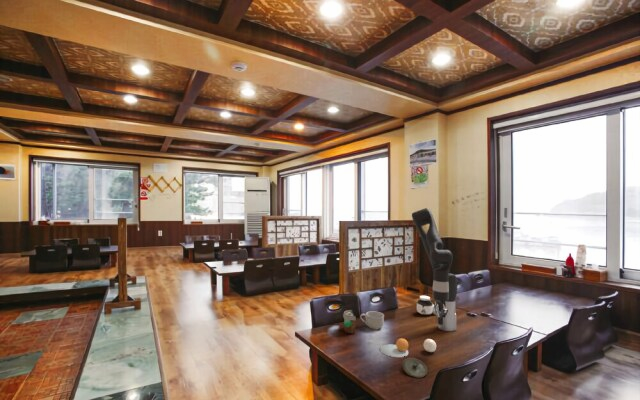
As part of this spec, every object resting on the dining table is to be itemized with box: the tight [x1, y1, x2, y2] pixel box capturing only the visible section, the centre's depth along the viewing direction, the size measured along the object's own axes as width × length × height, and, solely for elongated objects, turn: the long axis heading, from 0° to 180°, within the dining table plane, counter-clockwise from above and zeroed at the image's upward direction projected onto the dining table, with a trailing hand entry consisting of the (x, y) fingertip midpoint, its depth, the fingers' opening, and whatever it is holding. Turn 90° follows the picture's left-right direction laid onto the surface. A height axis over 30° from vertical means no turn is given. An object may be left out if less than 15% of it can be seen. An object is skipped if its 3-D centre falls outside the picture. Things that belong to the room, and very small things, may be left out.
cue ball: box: [423, 338, 437, 353], centre depth 157 cm, size 6×6×6 cm
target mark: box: [379, 343, 409, 358], centre depth 157 cm, size 14×14×1 cm
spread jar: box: [416, 295, 437, 317], centre depth 215 cm, size 12×11×12 cm
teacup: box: [359, 310, 385, 330], centre depth 188 cm, size 14×11×8 cm
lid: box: [401, 357, 428, 379], centre depth 137 cm, size 11×10×5 cm
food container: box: [342, 309, 357, 335], centre depth 181 cm, size 12×6×10 cm, turn 5°
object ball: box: [395, 337, 410, 351], centre depth 157 cm, size 6×6×6 cm
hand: (440, 324), depth 158 cm, fingers closed
